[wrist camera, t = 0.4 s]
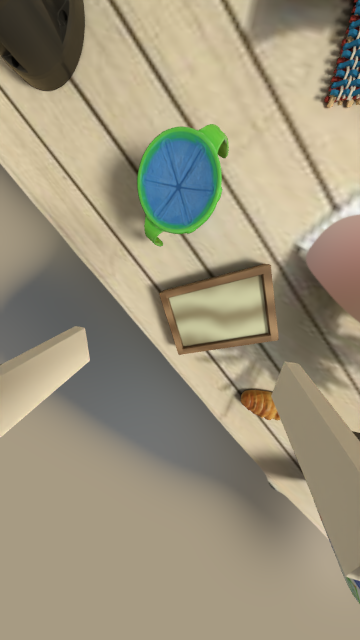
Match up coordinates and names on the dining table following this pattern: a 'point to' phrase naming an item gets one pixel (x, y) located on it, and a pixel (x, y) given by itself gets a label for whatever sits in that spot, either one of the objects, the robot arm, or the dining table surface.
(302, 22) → the dining table surface
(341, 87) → the woven mat
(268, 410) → the pastry
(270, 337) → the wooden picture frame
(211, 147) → the snack cup
